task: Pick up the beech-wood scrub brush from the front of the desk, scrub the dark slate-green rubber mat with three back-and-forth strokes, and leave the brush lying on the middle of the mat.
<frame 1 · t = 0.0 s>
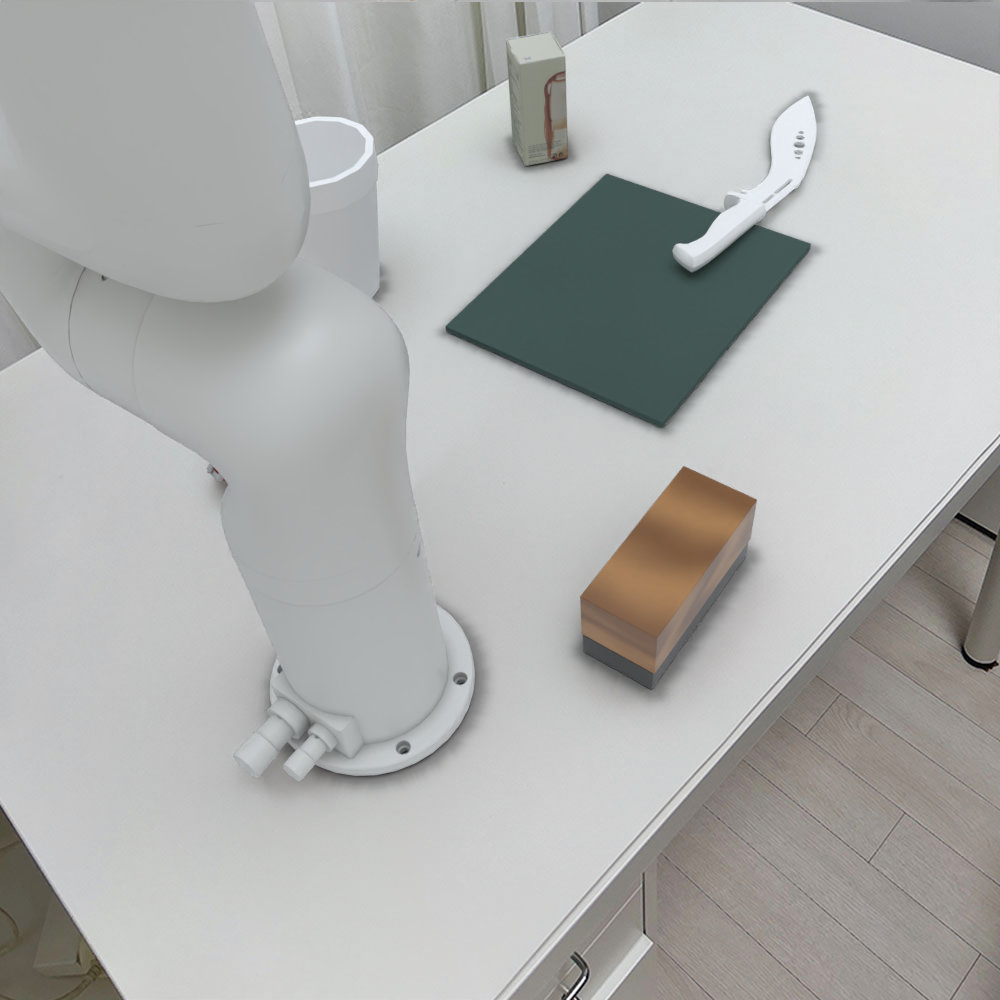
mat: (631, 289, 90), on the table
foam cup: (343, 287, 93), on the table
cream tall box: (540, 150, 104), on the table
knife: (755, 181, 98), on the table, touching mat
tracker holder: (274, 438, 83), on the table
scrub brush: (666, 602, 71), on the table
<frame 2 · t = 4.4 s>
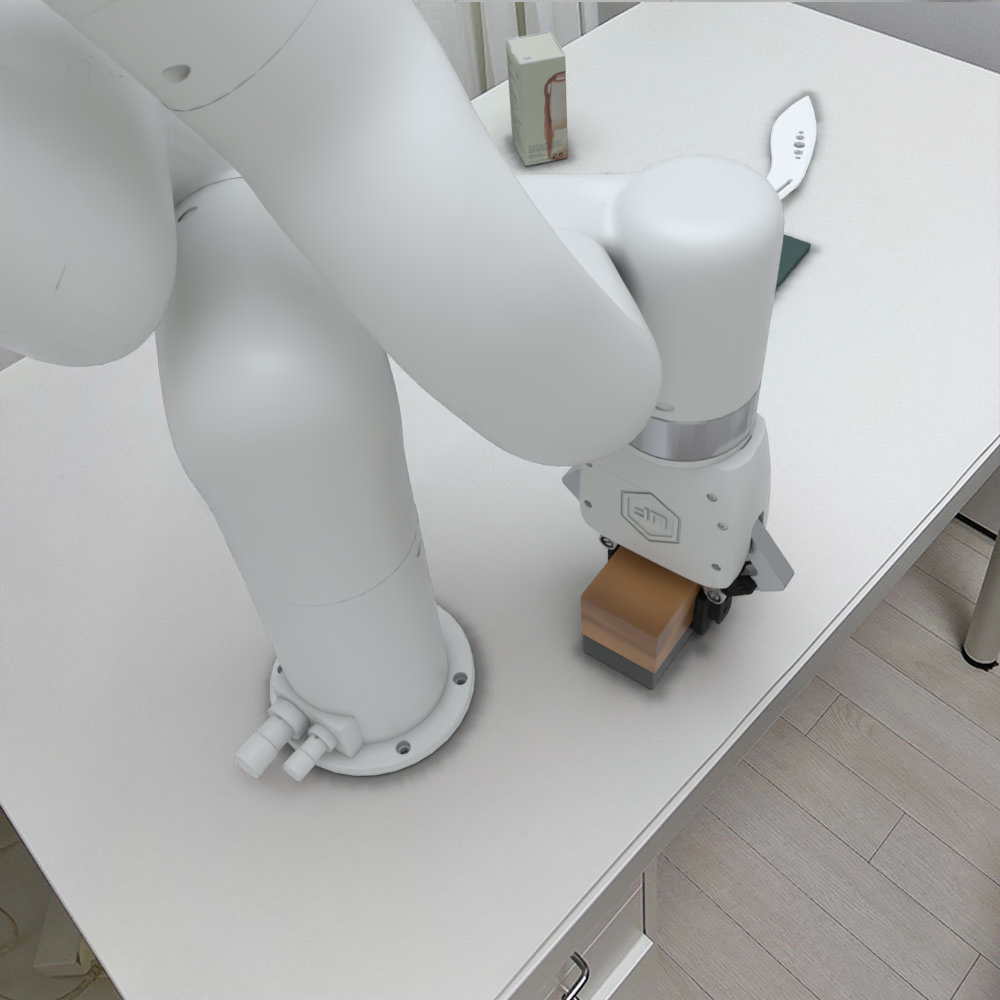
hand: (667, 595, 70), 1 cm above the table, tool pointing down, fingers closed on scrub brush, 5 cm apart
scrub brush: (666, 602, 71), on the table, touching gripper
everything else where it was.
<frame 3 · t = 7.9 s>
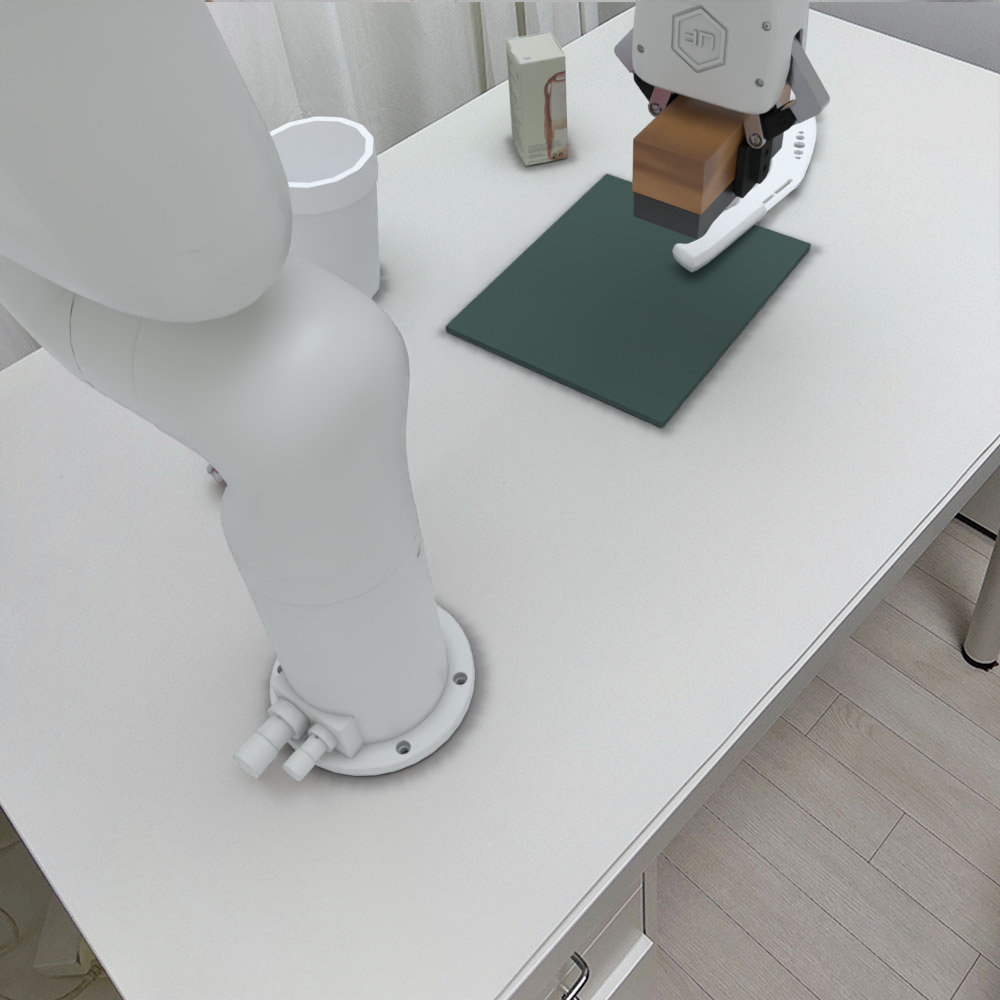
hand: (709, 171, 76), 14 cm above the table, tool pointing down, fingers closed on scrub brush, 5 cm apart
scrub brush: (709, 181, 77), point 13 cm above the table, touching gripper
everything else where it was.
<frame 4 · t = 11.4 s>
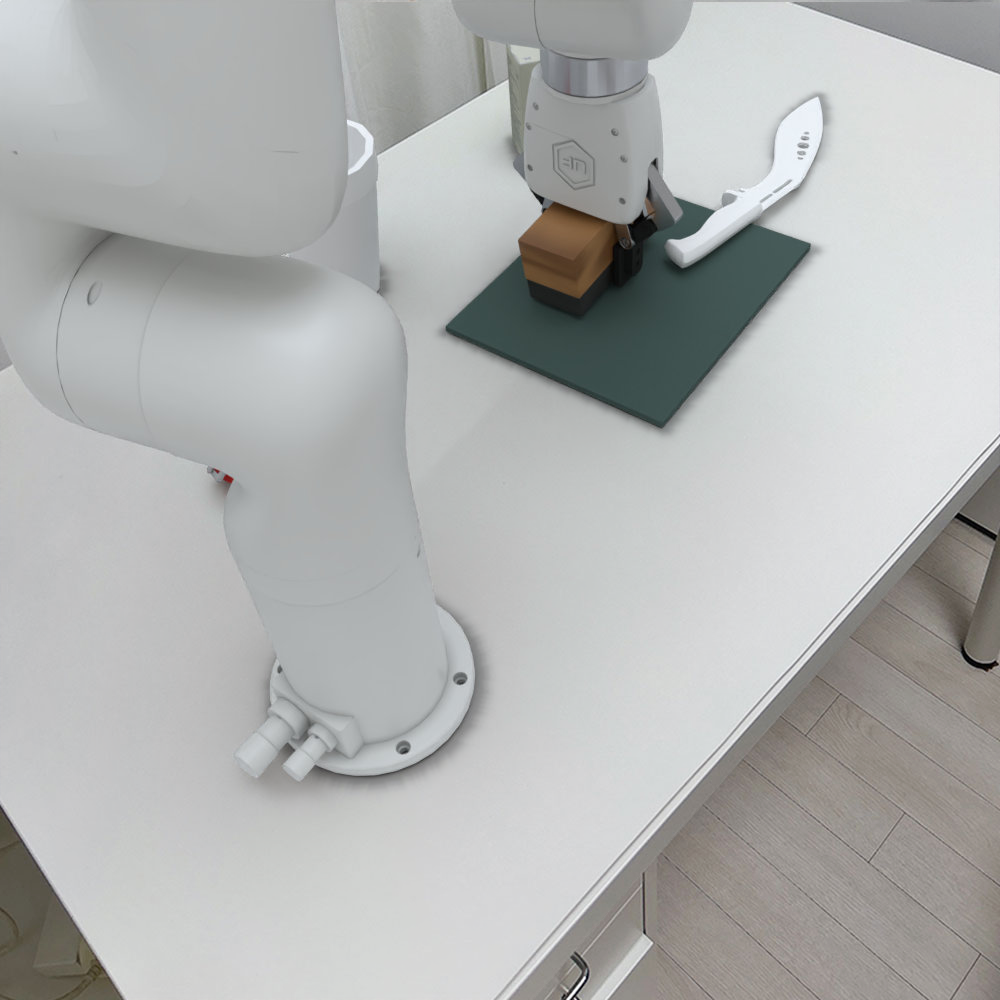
hand: (595, 263, 91), 1 cm above the table, tool pointing down, fingers closed on scrub brush, 5 cm apart
scrub brush: (596, 260, 90), point 2 cm above the table, tilted 7°, touching gripper
everything else where it was.
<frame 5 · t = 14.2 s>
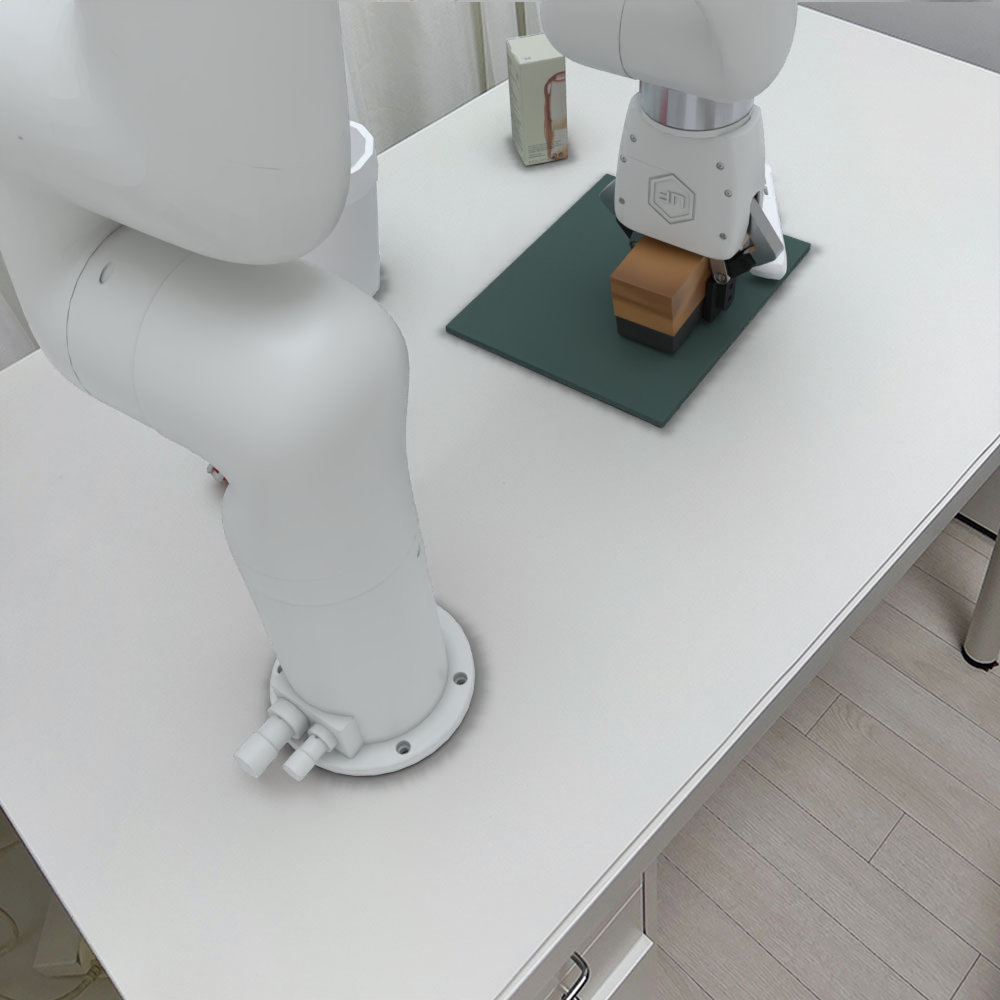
hand: (682, 297, 87), 1 cm above the table, tool pointing down, fingers closed on scrub brush, 5 cm apart
knife: (726, 182, 98), on the table, touching mat
scrub brush: (684, 293, 87), point 2 cm above the table, tilted 7°, touching gripper
everything else where it was.
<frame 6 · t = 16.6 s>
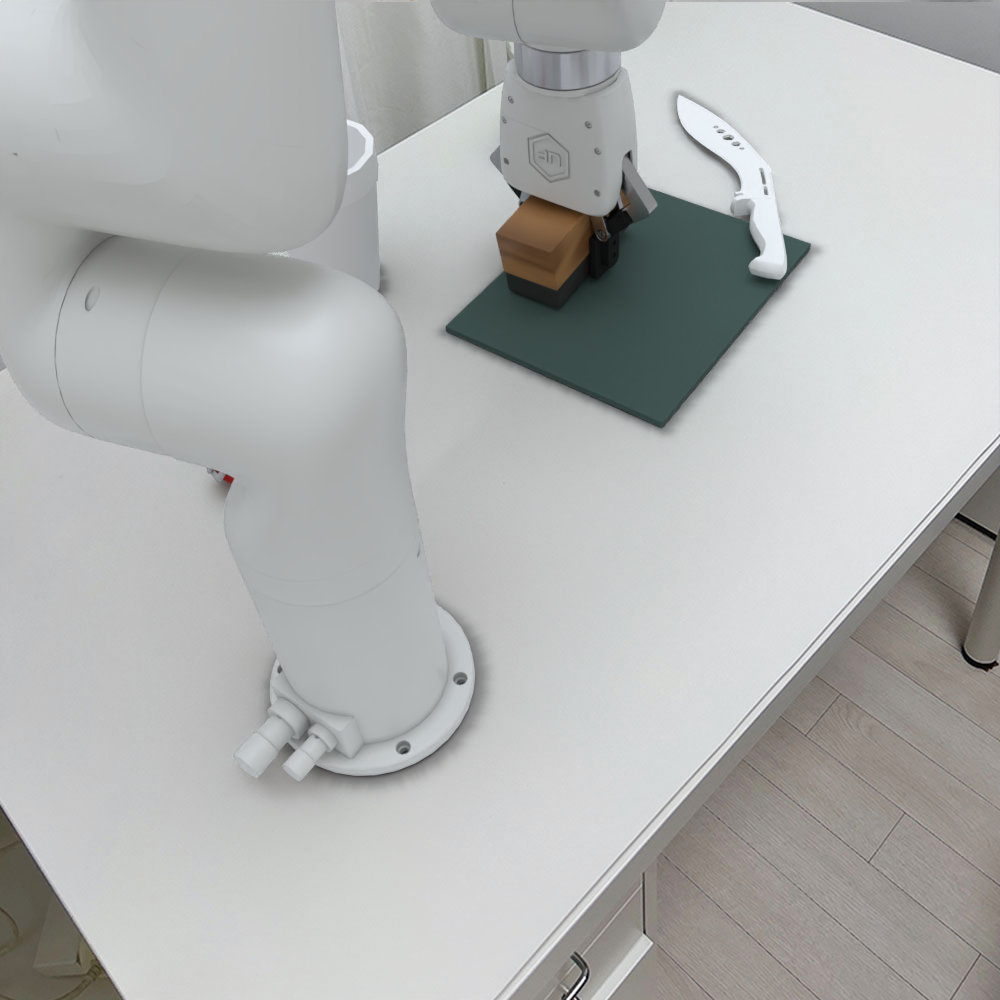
hand: (572, 256, 92), 1 cm above the table, tool pointing down, fingers closed on scrub brush, 5 cm apart
knife: (726, 182, 98), on the table, touching mat
scrub brush: (574, 252, 91), point 2 cm above the table, tilted 7°, touching gripper
everything else where it was.
when the fingers open (1 cm above the table, at t = 18.9 s): scrub brush stays where it is, resting on mat.
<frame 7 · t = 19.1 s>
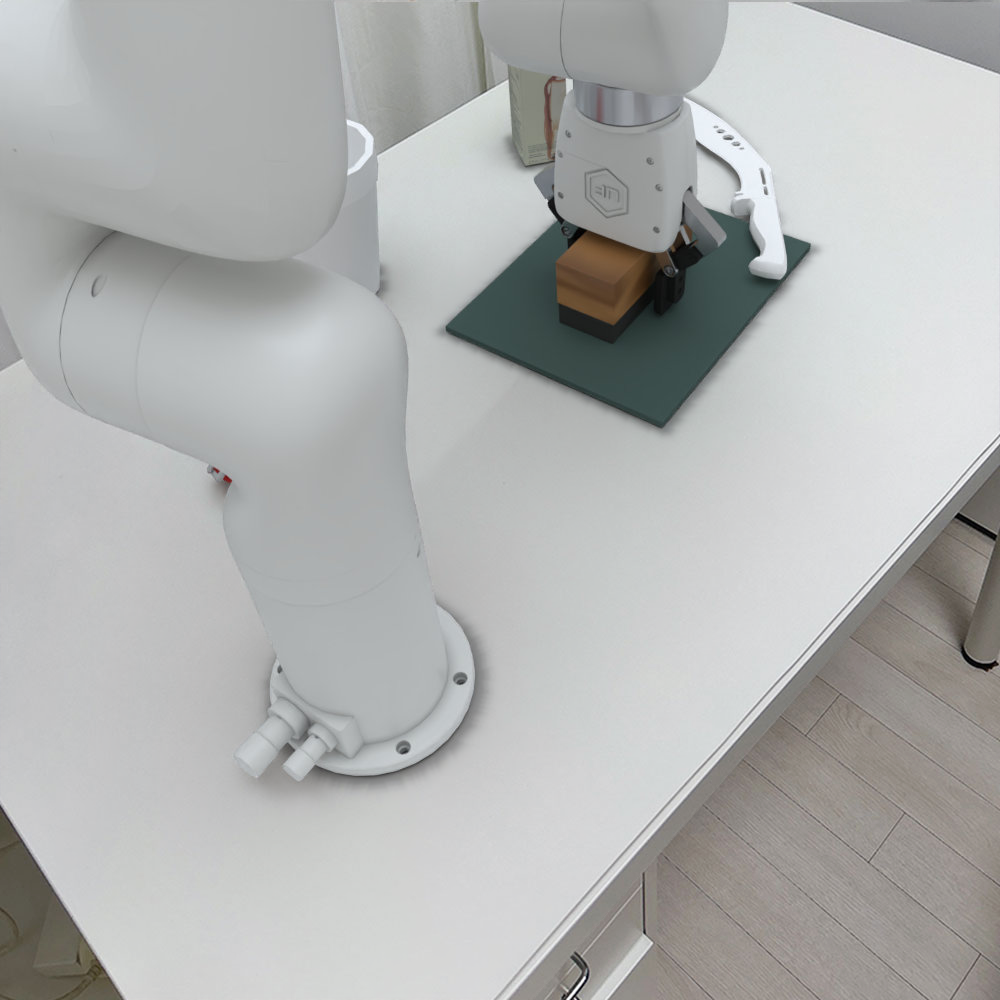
hand: (625, 286, 89), 1 cm above the table, tool pointing down, fingers open, 7 cm apart
scrub brush: (625, 290, 89), point 1 cm above the table, touching mat
everything else where it was.
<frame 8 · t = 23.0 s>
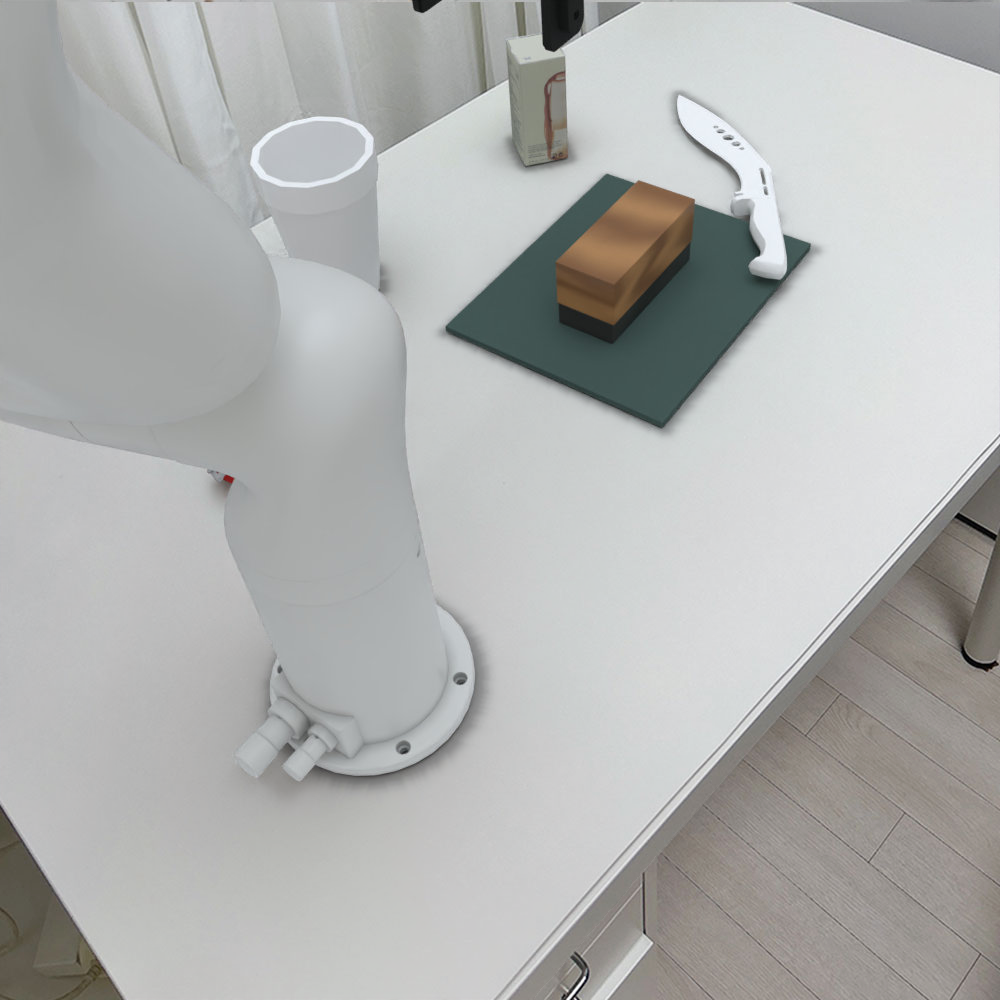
hand: (496, 21, 67), 26 cm above the table, tool pointing down, fingers open, 9 cm apart
nothing on the table moved.
at the end: scrub brush moved 30.1 cm from its start; scrub brush inside the target area on the mat (0.9 cm from its centre), point 0.6 cm above the mat's base; the gripper is holding nothing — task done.
